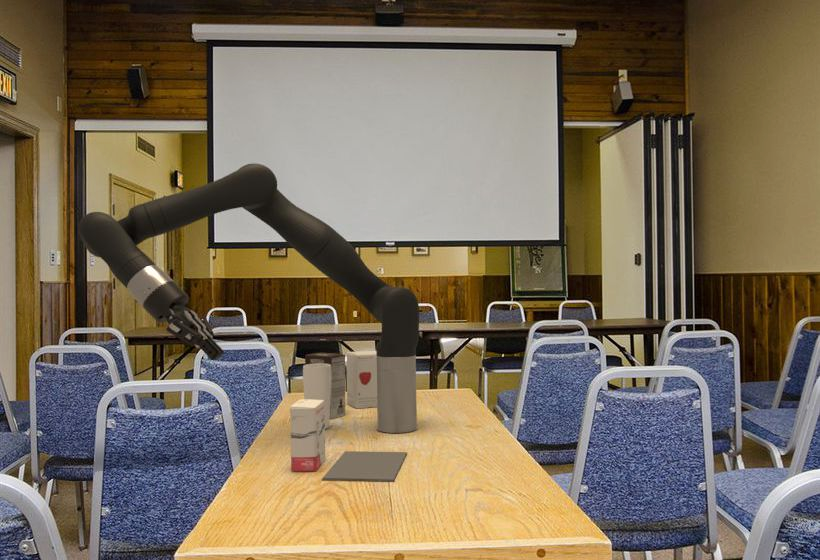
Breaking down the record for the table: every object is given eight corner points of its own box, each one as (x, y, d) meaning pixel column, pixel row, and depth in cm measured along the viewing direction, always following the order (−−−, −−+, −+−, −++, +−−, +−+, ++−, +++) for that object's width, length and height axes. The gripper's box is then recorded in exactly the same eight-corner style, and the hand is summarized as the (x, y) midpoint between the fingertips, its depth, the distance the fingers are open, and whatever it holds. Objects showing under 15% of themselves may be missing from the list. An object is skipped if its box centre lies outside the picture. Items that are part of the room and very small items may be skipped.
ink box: (316, 472, 116) (315, 406, 116) (289, 472, 116) (288, 406, 116) (326, 459, 124) (325, 398, 125) (301, 459, 125) (300, 398, 125)
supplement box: (356, 409, 175) (355, 354, 175) (346, 404, 183) (345, 351, 183) (387, 406, 179) (386, 352, 179) (376, 401, 187) (375, 350, 187)
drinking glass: (298, 430, 150) (297, 366, 150) (313, 424, 156) (312, 363, 156) (323, 432, 147) (322, 367, 148) (337, 426, 154) (336, 363, 154)
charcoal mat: (345, 453, 129) (345, 451, 129) (406, 454, 127) (406, 452, 127) (322, 480, 111) (322, 477, 111) (393, 481, 109) (393, 479, 109)
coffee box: (304, 416, 167) (303, 354, 167) (320, 411, 172) (319, 352, 172) (331, 419, 162) (330, 356, 162) (347, 415, 167) (346, 353, 167)
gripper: (152, 279, 117) (217, 346, 116) (186, 280, 131) (245, 339, 129) (125, 308, 118) (190, 375, 116) (162, 306, 131) (220, 366, 130)
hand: (218, 356), depth 123 cm, fingers closed
